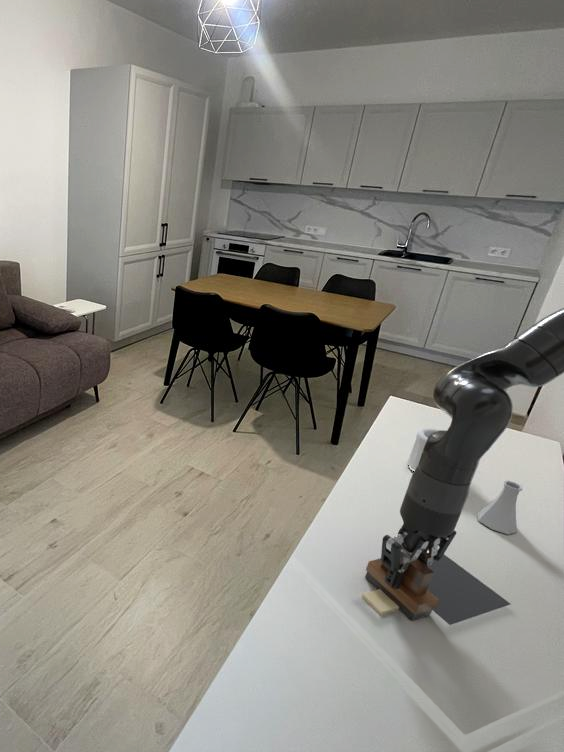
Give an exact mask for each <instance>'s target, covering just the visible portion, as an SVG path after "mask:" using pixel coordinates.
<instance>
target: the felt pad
mask: <svg viewBox="0 0 564 752" xmlns="http://www.w3.org/2000/svg"><path fill="white" fill-rule="evenodd" d="M361 598H362V599H363V600H364V601H365V602H366V603H368V604H369V605H370V606H371V607H372V608H373V609H374V610H375V611H376V613H378V614H379V615H381V616H382V615H384V614H388V613H392V612H395V611H398V610H400V609H399V606H398V605H397V604H396V603H395V602H393V601H392V600H391V599H390V598H389V597H388V596H387V595H386V594H385V593H384V592H383V591H381V590H380V589H375V590H372V591H368V592H365V593H362V594H361Z"/></svg>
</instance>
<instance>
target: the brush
mask: <svg viewBox="0 0 564 752" xmlns="http://www.w3.org/2000/svg"><path fill="white" fill-rule="evenodd" d="M402 549H403V550H404V551H405V552H406V553H408V554H409V555H411V553H409V552H408V551H407V550H405V549H404V548H403V547H402ZM402 562H403V558H402V557H401V556H400V563H401V564H402ZM388 569H389V568H388V567H387V566H385V565H384V564H383V563H382V562H381V557H380V558H376V559H373V560H369V561H368V562H367V565H366V568H365V571H366V573H365V579H366V580H367V581H368V582H369V583H371V585H372V586H374V587H375V588H376V590H378V589H380V590H381V591H383V592H384V593H385V594H386V595H387V596H388V597H389V598H390V599H391V600H392V601H393V602H395V603H396V604H397V605H398V606H399V609H398V610H400V611H401V612H402V613H403V614H404V615H405V616H406V617H407V618H408V619H409V620H410V621H415V620H418V619H421V618H424V617H427V616H430V615H431V614H432V611H433V610H432V609H435V607H436V605H437V603H438V600H439V599H438V598H437V597H436V596H434V595H433V594H432V593H431V592H430V591H428V590H427V589H428V586H429V584H430V581H431V579H432V577H433V574H434V572H433V571H432V570H431V569H430V568H428V567H427V566H426V565H425V564H423V563H422V562H421V561H420V560H418V559H417V560H416V561H415V562H414V563H410V564H409V566H408V568H407V569H406V571H405V574H404V576H403V579H402V582H401V584H400V587H399V589H396V590H394V589H392V588H391V587H390V586H389V585H388V584H387V583H386V582H385V577H386V574H387V572H388Z"/></svg>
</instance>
